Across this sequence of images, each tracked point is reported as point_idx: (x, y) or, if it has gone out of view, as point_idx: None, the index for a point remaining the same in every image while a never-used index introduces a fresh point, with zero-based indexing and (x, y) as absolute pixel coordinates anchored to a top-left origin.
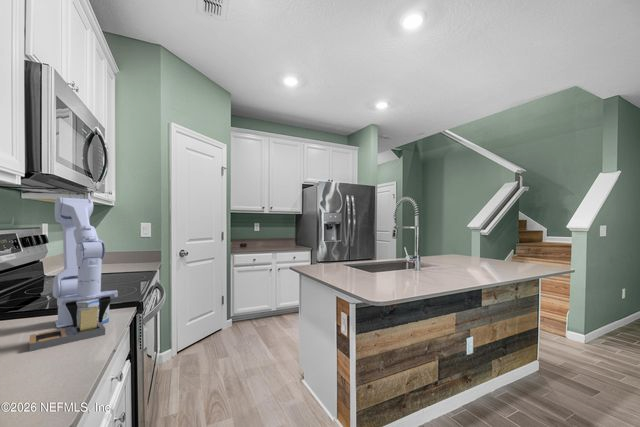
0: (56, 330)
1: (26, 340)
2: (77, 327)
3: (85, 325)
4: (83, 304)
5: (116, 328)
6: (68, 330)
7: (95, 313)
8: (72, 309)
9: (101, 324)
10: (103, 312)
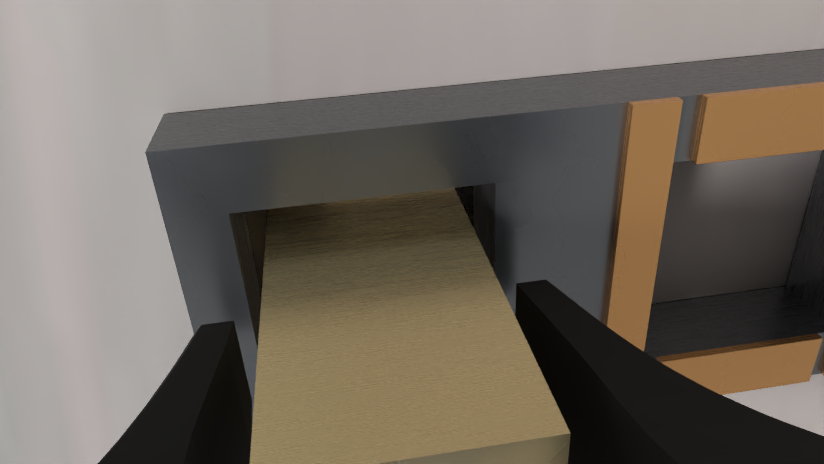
0: None
1: (804, 403)
2: None
3: (419, 258)
4: None
5: (42, 298)
6: None
7: (290, 395)
8: (772, 456)
9: None
10: (147, 429)
